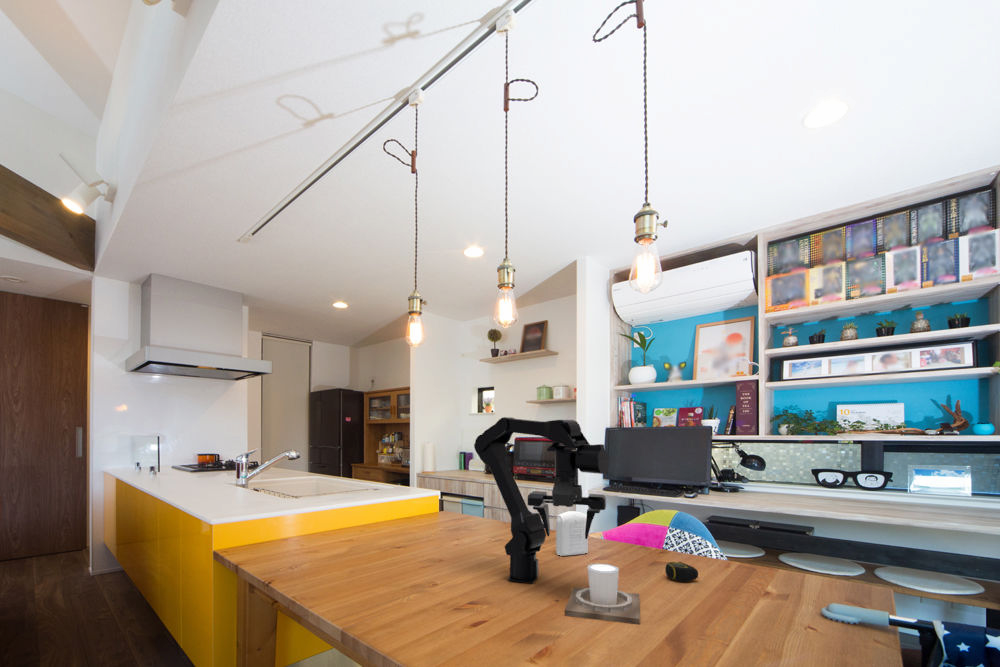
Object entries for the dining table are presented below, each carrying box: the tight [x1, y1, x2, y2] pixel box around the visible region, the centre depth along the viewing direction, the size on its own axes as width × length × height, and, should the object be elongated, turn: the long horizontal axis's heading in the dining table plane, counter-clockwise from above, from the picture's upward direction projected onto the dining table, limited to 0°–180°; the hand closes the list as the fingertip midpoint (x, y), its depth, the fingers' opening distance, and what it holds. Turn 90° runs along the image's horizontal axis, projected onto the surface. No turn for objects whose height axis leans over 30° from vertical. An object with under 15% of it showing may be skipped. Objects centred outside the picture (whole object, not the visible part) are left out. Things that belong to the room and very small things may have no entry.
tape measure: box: [665, 561, 699, 582], centre depth 127 cm, size 7×7×4 cm
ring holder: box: [564, 586, 641, 625], centre depth 107 cm, size 15×15×2 cm
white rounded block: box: [555, 510, 589, 557], centre depth 150 cm, size 10×4×12 cm, turn 114°
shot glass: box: [587, 563, 620, 605], centre depth 108 cm, size 7×7×7 cm
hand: (567, 537), depth 119 cm, fingers open, 9 cm apart
